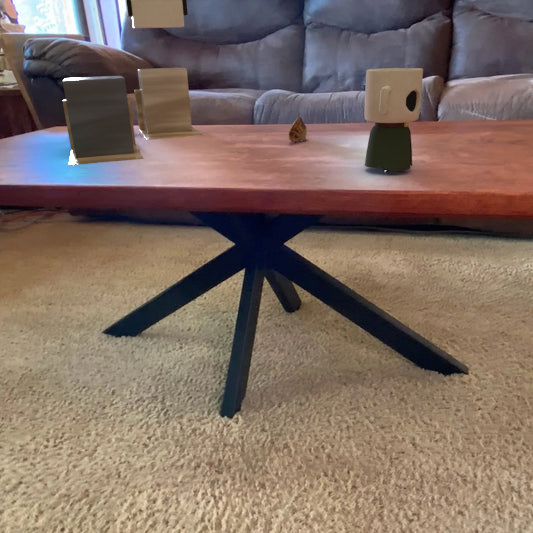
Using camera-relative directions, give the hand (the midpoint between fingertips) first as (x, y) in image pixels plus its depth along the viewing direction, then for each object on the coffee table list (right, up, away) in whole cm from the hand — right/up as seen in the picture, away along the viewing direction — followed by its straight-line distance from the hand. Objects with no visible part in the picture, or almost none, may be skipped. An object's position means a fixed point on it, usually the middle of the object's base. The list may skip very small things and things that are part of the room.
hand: (157, 15), depth 92 cm
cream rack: (0, -19, +12) cm, 22 cm away
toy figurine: (+36, -32, -22) cm, 53 cm away
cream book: (0, -2, +1) cm, 2 cm away
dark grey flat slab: (-7, -28, -8) cm, 29 cm away
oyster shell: (+25, -22, +3) cm, 33 cm away
